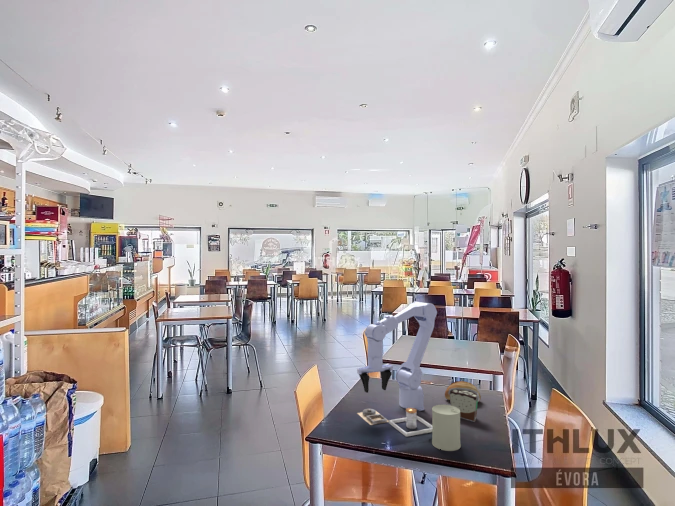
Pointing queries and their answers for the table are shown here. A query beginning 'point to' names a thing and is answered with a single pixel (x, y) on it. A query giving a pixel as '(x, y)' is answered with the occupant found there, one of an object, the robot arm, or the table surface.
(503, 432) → the table surface
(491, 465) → the table surface
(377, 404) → the table surface
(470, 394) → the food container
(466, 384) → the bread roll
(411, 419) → the glass shaker
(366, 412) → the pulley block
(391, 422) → the white square frame
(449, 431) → the can
